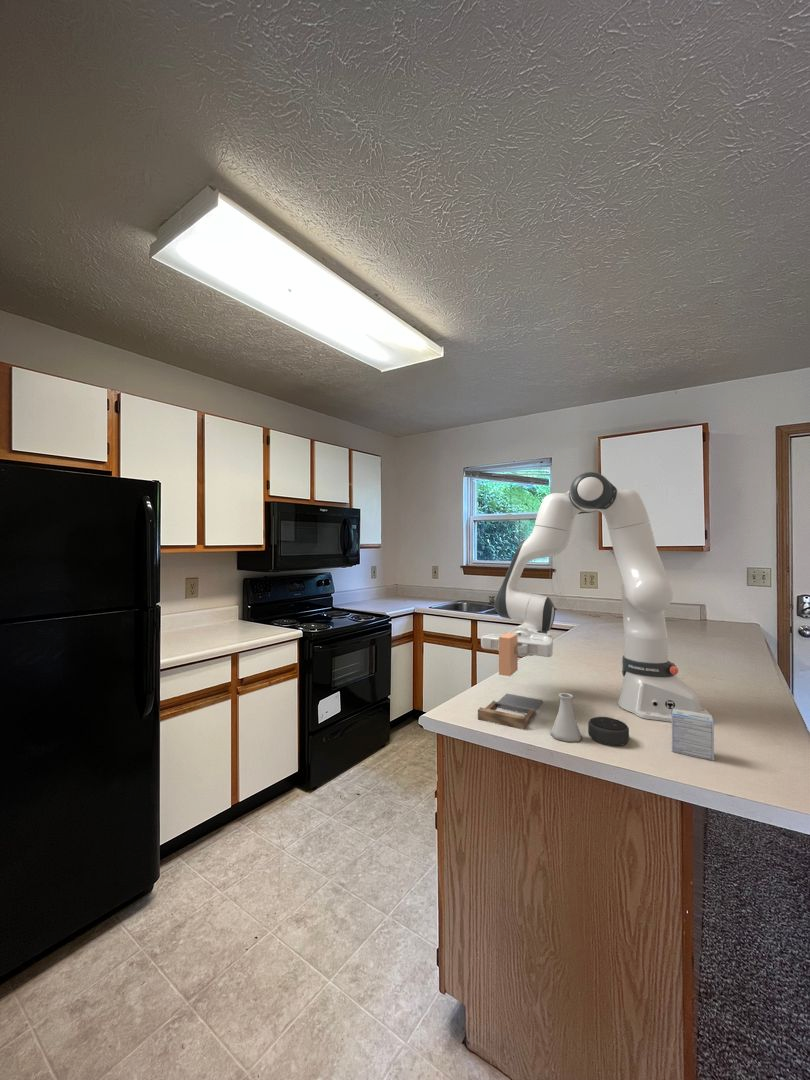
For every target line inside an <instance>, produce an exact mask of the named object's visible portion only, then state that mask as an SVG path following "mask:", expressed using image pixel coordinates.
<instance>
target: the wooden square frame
mask: <svg viewBox="0 0 810 1080" xmlns="http://www.w3.org/2000/svg"><path fill="white" fill-rule="evenodd" d="M495 707H496V708H497V707H498V709H501V708H502V709H501V710H506V709H507V710H508V711H512V712H516V711H517V713H522V714H525V716H524V715H519V714H513V713H509V712H505V711H500V710H495V709H496V708H495ZM494 708H495V709H494ZM536 714H537V710H536V709H531V708H526V707H521V706H516V705H511V704H505V703H500V702H498V701H494V700H493V701H491V702H490V703H489V704H488V705H487V706H485V708H484V707H479V708H478V709H477V720H479V719H480V721H484V720H485V721H484V722H488V721H489V722H488V723H493V722H494V724H497V723H498V725H502V726H506V725H507V727H510V728H516V729H521V730H525V728H526V727H527V725H528V724H529V723H530V722H531V720H532V719H533V718H534V717H535V715H536Z"/></svg>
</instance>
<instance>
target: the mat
mask: <svg viewBox="0 0 810 1080" xmlns="http://www.w3.org/2000/svg"><path fill="white" fill-rule="evenodd" d="M497 702H500V703H505V704H511V705H516V706H521V707H526V708H531V709H536V711H537V710H538V708H539V707H540V706H541V704H543V702H544V700H543V699H539V698H533V697H530V696H529V697H527V696H522V695H517V694H511V693H505V695H503V696H502V697H501V698H500V699H499V700H498V701H497Z"/></svg>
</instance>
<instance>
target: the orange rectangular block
mask: <svg viewBox="0 0 810 1080" xmlns="http://www.w3.org/2000/svg"><path fill="white" fill-rule="evenodd" d="M515 646H518V634H513V633H509V632H506V633H504V635H502V636H500V637H499V651H498V675H499V676H506V677H511V676H512V675H514V673H516V672H517V671H518V664H519V663H518V661H519V660H518V657H519V656H518V654H514V647H515Z"/></svg>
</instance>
